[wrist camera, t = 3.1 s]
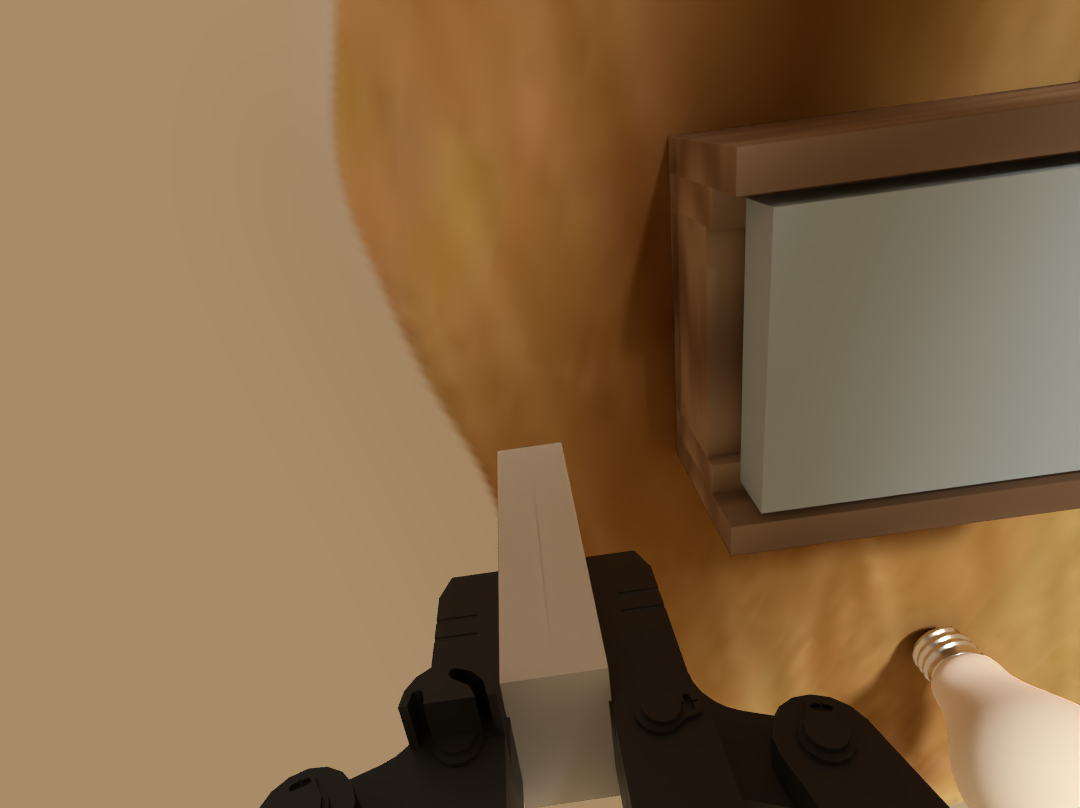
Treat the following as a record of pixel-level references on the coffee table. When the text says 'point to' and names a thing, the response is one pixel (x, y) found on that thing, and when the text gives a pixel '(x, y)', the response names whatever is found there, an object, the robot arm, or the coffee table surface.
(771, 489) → the cover plate
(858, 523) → the walnut box
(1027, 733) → the light bulb
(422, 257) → the coffee table surface
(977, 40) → the coffee table surface
